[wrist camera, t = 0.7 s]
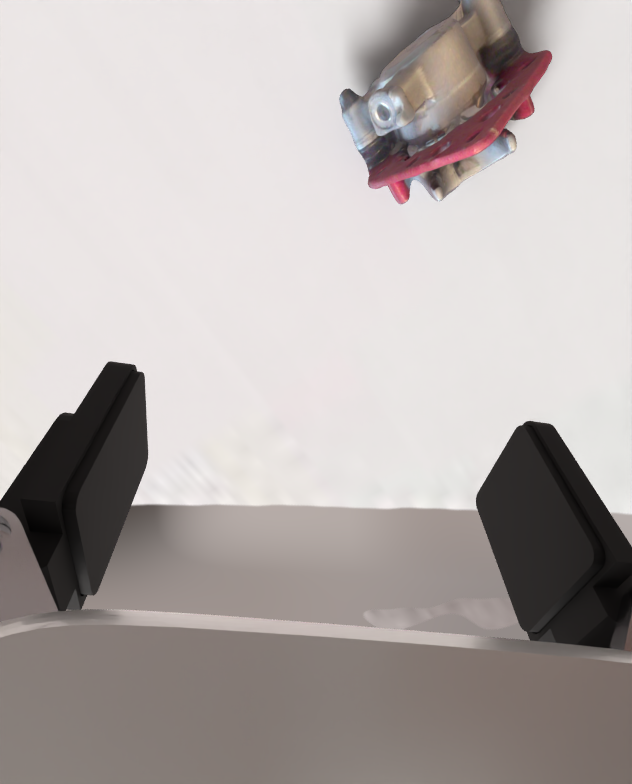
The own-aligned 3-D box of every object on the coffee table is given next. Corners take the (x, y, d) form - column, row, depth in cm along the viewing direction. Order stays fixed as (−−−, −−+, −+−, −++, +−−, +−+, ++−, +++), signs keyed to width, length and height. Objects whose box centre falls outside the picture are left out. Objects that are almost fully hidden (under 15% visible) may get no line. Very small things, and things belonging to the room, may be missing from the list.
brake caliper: (415, 257, 34) (379, 212, 23) (343, 136, 35) (275, 35, 24) (568, 156, 30) (617, 41, 19) (481, 22, 31) (479, -163, 20)
